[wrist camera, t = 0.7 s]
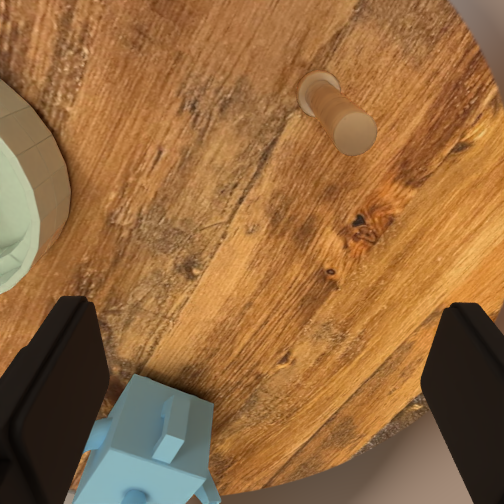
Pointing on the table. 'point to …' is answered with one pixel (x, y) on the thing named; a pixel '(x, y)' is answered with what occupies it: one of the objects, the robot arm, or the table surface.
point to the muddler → (336, 113)
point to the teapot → (150, 449)
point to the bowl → (28, 188)
